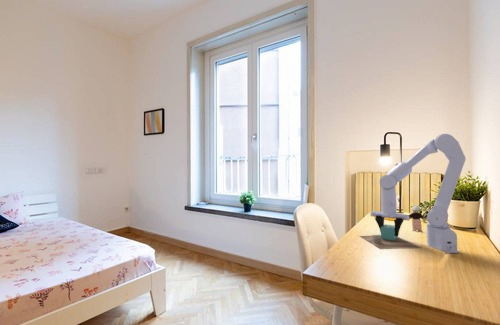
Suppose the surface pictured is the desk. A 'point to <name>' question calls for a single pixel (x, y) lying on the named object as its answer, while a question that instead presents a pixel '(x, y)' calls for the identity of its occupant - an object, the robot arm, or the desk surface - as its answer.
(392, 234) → the teal mini fridge
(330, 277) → the desk surface
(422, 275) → the desk surface
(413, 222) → the grandmother figurine
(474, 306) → the desk surface
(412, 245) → the plate
